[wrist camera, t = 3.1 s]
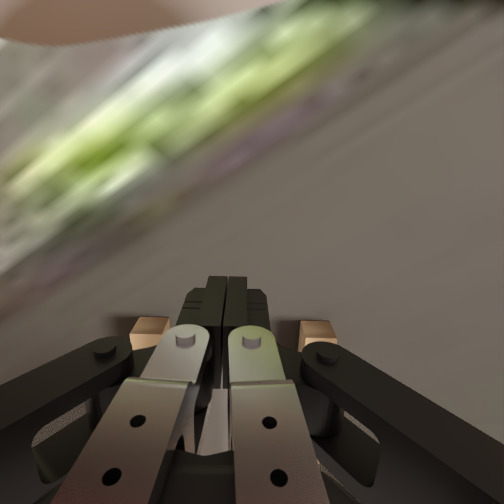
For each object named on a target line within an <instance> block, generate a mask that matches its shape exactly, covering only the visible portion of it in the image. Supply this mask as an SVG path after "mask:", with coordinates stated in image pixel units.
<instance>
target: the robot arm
mask: <svg viewBox="0 0 504 504" xmlns="http://www.w3.org/2000/svg"><path fill="white" fill-rule="evenodd" d="M222 369H223V389H228V394H227V397H228V398H227V420H228V451H225V452H220V453H216V454H212V455H207V456H202V455H200V453H201V449H202V444H203V440H204V435H205V431H206V426H207V422H208V417H209V413H210V401H211V399H212V393H213V389H221V379H222ZM84 401H85V404H86V410H87V413H86V414H85V415H83V416H81V417H80V418H78V419H77V420H75V421H74V422H72V423H70V424H69V425H67V426H66V427H64V428H63V429H61V430H60V431H58V432H56V433H55V434H53V435H52V436H50V437H49V438H47V439H45V440H44V441H42V442H41V443H39V444H38V445H36V446H34V447H33V448H31V444H32V440H33V438H34V436H35V435H36V434H37V432H38V431H39V430H40V429H41V428H42V427H44V426H45V425H47V424H48V423H50V422H51V421H53V420H55V419H56V418H58V417H60V416H61V415H63V414H65V413H66V412H68V411H70V410H71V409H73V408H74V407H76V406H78V405H79V404H81V403H83V402H84ZM344 411H346V412H347V413H349V414H350V415H351V416H353V417H354V418H355V419H357V420H358V421H359V422H360V423H362V424H363V425H364V426H366V427H367V428H368V429H369V430H371V431H372V432H373V433H374V434H375V436H376V437H377V439H378V440H379V442H380V444H379V443H377V442H376V441H375V440H374V439H372V438H371V437H370V436H369V435H367V434H366V433H365V432H363V431H362V430H361V429H360V428H358V427H357V426H356V425H355V424H353V423H352V422H351V421H349V420H348V419H347V418H346V417H344ZM317 460H318V461H319V462H320V463H321V464H322V465H323V466H324V467H325V468H326V469H327V470H328V471H329V472H330V473H331V474H332V475H333V476H334V477H335V478H337V479H338V480H339V481H340V482H341V483H342V484H343V485H344V486H345V487H346V488H347V489H348V490H349V491H350V492H351V493H352V494H353V495H354V496H355V497H356V498H357V499H358V500H359V501H360V502H361V503H362V504H504V445H503V444H502V443H500V442H499V441H497V440H495V439H494V438H492V437H490V436H489V435H487V434H485V433H484V432H482V431H480V430H479V429H477V428H475V427H474V426H472V425H470V424H469V423H467V422H465V421H464V420H462V419H460V418H459V417H457V416H455V415H454V414H452V413H450V412H449V411H447V410H446V409H444V408H442V407H441V406H439V405H437V404H436V403H434V402H432V401H431V400H429V399H427V398H426V397H424V396H422V395H421V394H419V393H417V392H416V391H414V390H412V389H411V388H409V387H407V386H406V385H404V384H402V383H401V382H399V381H397V380H396V379H394V378H392V377H391V376H389V375H388V374H386V373H384V372H383V371H381V370H379V369H378V368H376V367H374V366H373V365H371V364H369V363H368V362H366V361H364V360H363V359H361V358H359V357H358V356H356V355H354V354H353V353H351V352H349V351H348V350H346V349H344V348H343V347H341V346H339V345H337V344H334V343H331V342H325V341H316V342H312V343H309V344H307V345H306V346H305V347H304V348H303V350H302V352H299V351H294V350H291V349H287V348H285V347H283V346H281V345H279V344H278V343H277V342H276V341H275V337H274V335H273V334H272V333H271V329H270V321H269V313H268V305H267V298H266V295H265V294H264V293H263V292H262V291H261V290H260V289H247V277H234V276H229V279H228V277H227V276H209V278H208V281H207V285H206V288H194V289H193V290H191V291H190V292H189V293H188V294H187V296H186V298H185V302H184V304H183V307H182V309H181V312H180V315H179V318H178V320H177V323H176V326H175V327H173V328H171V329H169V330H167V331H166V332H165V333H164V334H163V336H162V337H161V339H160V341H159V343H158V345H155V346H152V347H147V348H142V349H137V350H133V348H132V344H131V342H130V341H129V340H127V339H125V338H122V337H105V338H101V339H98V340H95V341H92V342H90V343H88V344H86V345H84V346H82V347H80V348H78V349H76V350H73V351H71V352H69V353H67V354H65V355H63V356H61V357H59V358H57V359H55V360H53V361H50V362H48V363H46V364H44V365H42V366H40V367H38V368H36V369H34V370H32V371H29V372H27V373H25V374H23V375H21V376H19V377H17V378H15V379H13V380H11V381H8V382H6V383H4V384H2V385H0V504H360V503H359V502H358V501H357V500H356V499H355V498H354V497H353V496H352V495H351V494H350V493H349V492H348V491H347V490H346V489H345V488H344V487H342V486H341V485H340V484H339V483H338V482H336V481H335V480H334V479H332V478H331V477H330V476H328V475H327V474H325V473H323V472H321V471H320V468H319V465H318V461H317Z"/></svg>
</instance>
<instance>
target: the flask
mask: <svg viewBox="0 0 504 504" xmlns="http://www.w3.org/2000/svg"><path fill="white" fill-rule="evenodd" d="M227 394H228V389H223V369H222V379H221V389H213V393H212V399H211V401H210V413H209V417H208V422H207V426H206V431H205V435H204V440H203V444H202V449H201V453H200V455H202V456H207V455H212V454H216V453H220V452H225V451H228V420H227V398H228V397H227Z"/></svg>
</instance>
